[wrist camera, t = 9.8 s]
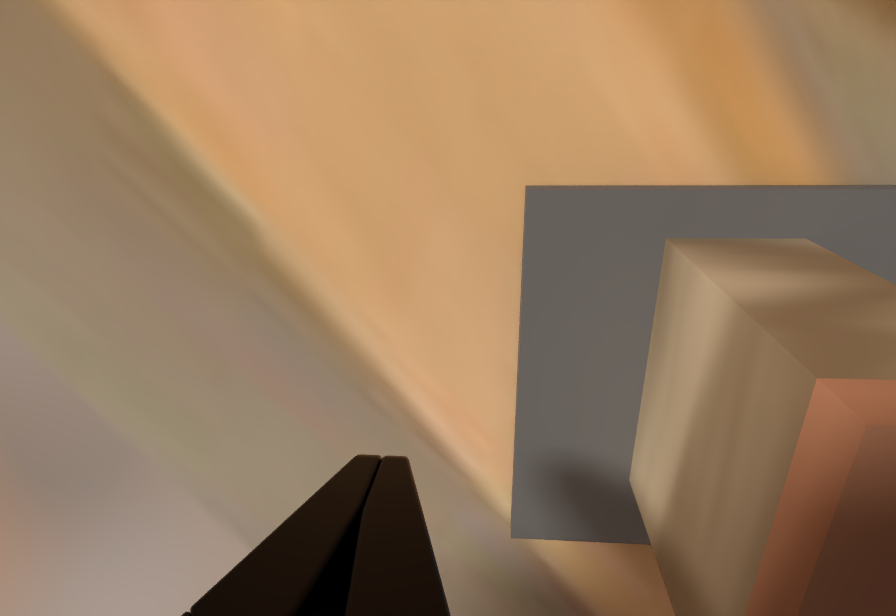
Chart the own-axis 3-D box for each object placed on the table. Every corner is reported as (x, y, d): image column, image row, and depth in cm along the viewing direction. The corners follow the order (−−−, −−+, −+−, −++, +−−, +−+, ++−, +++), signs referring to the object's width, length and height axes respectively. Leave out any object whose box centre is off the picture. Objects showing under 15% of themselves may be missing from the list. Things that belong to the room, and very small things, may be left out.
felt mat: (1193, 184, 10) (1220, 189, 9) (993, 548, 13) (1007, 561, 13) (525, 185, 10) (526, 189, 10) (510, 525, 14) (511, 537, 14)
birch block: (805, 238, 10) (1182, 433, 5) (741, 484, 12) (937, 803, 7) (665, 238, 10) (867, 423, 5) (628, 479, 13) (734, 787, 7)
